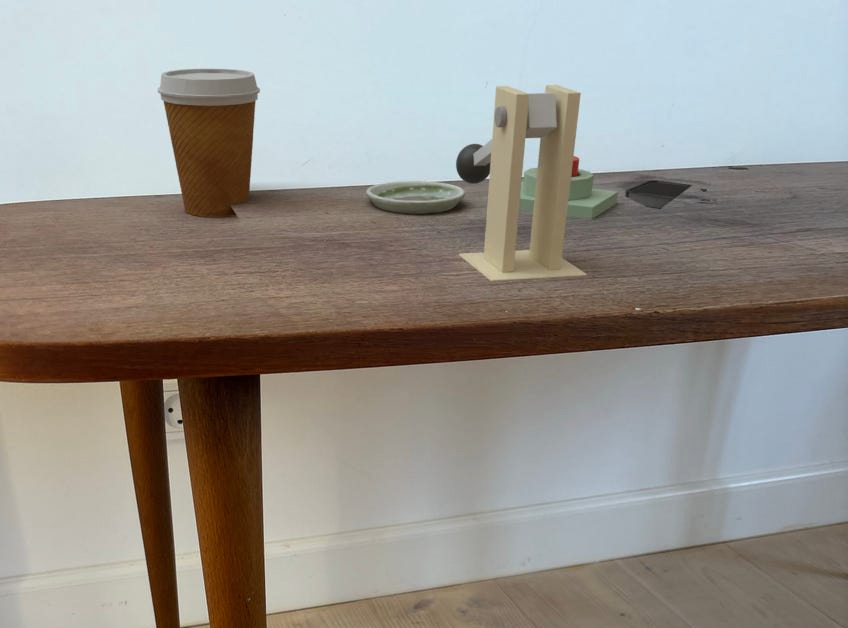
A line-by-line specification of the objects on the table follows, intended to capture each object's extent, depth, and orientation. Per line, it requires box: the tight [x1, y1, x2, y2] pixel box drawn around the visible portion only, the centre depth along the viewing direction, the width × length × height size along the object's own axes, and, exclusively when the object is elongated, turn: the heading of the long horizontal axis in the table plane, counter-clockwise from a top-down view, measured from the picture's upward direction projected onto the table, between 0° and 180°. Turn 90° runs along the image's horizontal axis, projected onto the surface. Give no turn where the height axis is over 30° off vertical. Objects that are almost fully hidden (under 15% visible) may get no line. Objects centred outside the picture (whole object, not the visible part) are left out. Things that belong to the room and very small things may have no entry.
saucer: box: [365, 180, 466, 215], centre depth 103 cm, size 10×10×2 cm
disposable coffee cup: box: [157, 68, 261, 218], centre depth 101 cm, size 10×10×12 cm
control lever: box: [455, 92, 557, 185], centre depth 86 cm, size 17×3×3 cm, turn 14°
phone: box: [624, 179, 693, 209], centre depth 108 cm, size 8×1×15 cm
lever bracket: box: [458, 84, 588, 283], centre depth 82 cm, size 8×8×14 cm
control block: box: [519, 167, 619, 220], centre depth 103 cm, size 10×8×4 cm
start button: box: [571, 155, 580, 177], centre depth 102 cm, size 4×4×2 cm
